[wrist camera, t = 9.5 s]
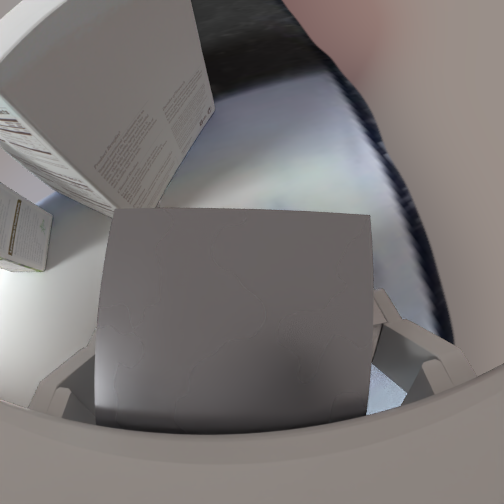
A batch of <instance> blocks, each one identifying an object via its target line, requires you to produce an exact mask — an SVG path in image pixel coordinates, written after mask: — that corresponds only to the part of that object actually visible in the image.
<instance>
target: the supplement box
mask: <svg viewBox="0 0 504 504" xmlns="http://www.w3.org/2000/svg"><path fill="white" fill-rule="evenodd" d="M214 111H215V105H214V101H213V96H212V92H211V88H210V83H209V79H208V75H207V71H206V66H205V62H204V58H203V54H202V50H201V45H200V41H199V36H198V32H197V27H196V23H195V18H194V14H193V9H192V5H191V0H23V1H21V2H20V3H19V4H18V5H17V6H16V7H14V8H13V9H12V10H11V11H10V12H8V13H7V14H6V15H5V16H4V17H3V18H2V19H1V20H0V148H2V149H3V150H4V151H5V152H6V153H7V154H9V155H10V156H11V157H12V158H13V159H15V160H16V161H17V162H18V163H20V164H21V165H22V166H23V167H24V168H26V169H27V170H28V171H29V172H31V173H32V174H33V175H34V176H36V177H37V178H38V179H40V180H41V181H43V183H45V184H46V185H47V186H49V187H50V188H51V189H53V190H55V191H57V192H59V193H61V194H63V195H65V196H67V197H69V198H71V199H73V200H75V201H77V202H79V203H81V204H83V205H85V206H87V207H89V208H92V209H94V210H96V211H98V212H100V213H102V214H104V215H106V216H109V217H111V218H113V214H114V209H124V208H155V207H156V206H157V204H158V202H159V200H160V198H161V196H162V195H163V193H164V191H165V189H166V187H167V186H168V184H169V182H170V181H171V179H172V177H173V176H174V174H175V172H176V170H177V169H178V167H179V165H180V164H181V162H182V160H183V159H184V157H185V156H186V154H187V152H188V151H189V149H190V148H191V146H192V144H193V143H194V141H195V140H196V138H197V137H198V135H199V133H200V132H201V130H202V129H203V127H204V126H205V124H206V123H207V121H208V120H209V118H210V117H211V115H212V114H213V112H214Z"/></svg>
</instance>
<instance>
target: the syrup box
mask: <svg viewBox="0 0 504 504" xmlns="http://www.w3.org/2000/svg"><path fill="white" fill-rule="evenodd" d="M52 219H53V216H52V215H51V214H50V213H48V212H46V211H45V210H43V209H42V208H40V207H38V206H37V205H35V204H34V203H32V202H31V201H29V200H27V199H26V198H24V197H22V196H21V195H19V194H18V193H17V192H15V191H13V190H12V189H10V188H9V187H7V186H6V185H4V184H3V183H1V182H0V268H1V269H5V270H8V271H11V272H44V270H45V266H46V259H47V252H48V245H49V238H50V231H51V225H52Z"/></svg>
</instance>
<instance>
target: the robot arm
mask: <svg viewBox="0 0 504 504" xmlns="http://www.w3.org/2000/svg"><path fill="white" fill-rule="evenodd" d="M373 293H374V303H373V342H372V360H371V363H372V364H373V365H374V366H376V367H377V368H378V369H379V370H380V371H382V372H383V373H384V374H385V375H386V376H387V377H389V378H390V379H391V380H392V381H393V382H395V383H396V384H397V385H398V386H399V387H401V388H402V389H403V390H404V391H405V392H407V393H408V394H407V395H406V397H405V399H404V401H403V403H402V404H401V406H399V407H396V408H392V409H389V410H385V411H382V412H378V413H374V414H370V415H366V416H362V417H358V418H353V419H349V420H344V421H339V422H334V423H329V424H323V425H318V426H311V427H305V428H298V429H290V430H282V431H272V432H261V433H247V434H223V435H189V434H166V433H153V432H142V431H133V430H124V429H117V428H110V427H104V426H98V425H96V418H95V348H96V331H97V327H96V329H95V331H94V333H93V335H92V337H91V339H90V341H89V343H88V345H87V348H82V349H81V350H79V351H78V352H77V353H76V354H74V355H73V356H72V357H71V358H69V359H68V360H67V361H65V362H64V363H63V364H62V365H60V366H59V367H58V368H57V369H55V370H54V371H53V372H52V373H50V374H49V375H48V376H47V377H45V378H44V379H43V380H42V381H41V382H40V383H39V385H38V387H37V389H36V391H35V394H34V396H33V398H32V400H31V403H30V405H29V407H28V408H25V407H21V406H18V405H16V404H13V403H10V402H7V401H4V400H2V399H0V504H504V364H502V365H500V366H498V367H496V368H494V369H492V370H490V371H488V372H486V373H484V374H482V375H480V376H478V377H477V375H476V373H475V372H474V370H473V368H472V367H471V365H470V363H469V362H468V360H467V358H466V357H465V355H464V354H463V352H462V350H461V349H460V348H458V347H456V346H455V345H453V344H451V343H449V342H447V341H446V340H444V339H442V338H440V337H438V336H437V335H435V334H433V333H431V332H429V331H427V330H426V329H424V328H422V327H420V326H418V325H417V324H415V323H413V322H411V321H409V320H407V319H403V320H402V318H401V316H400V315H399V313H398V311H397V310H396V308H395V306H394V305H393V303H392V302H391V300H390V298H389V297H388V295H387V294H386V292H385V290H384V289H382V288H381V289H375V290H373Z"/></svg>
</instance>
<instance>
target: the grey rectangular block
mask: <svg viewBox="0 0 504 504" xmlns="http://www.w3.org/2000/svg"><path fill="white" fill-rule="evenodd" d="M373 303H374V293H373V254H372V235H371V222H370V215H359V214H344V213H328V212H310V211H289V210H263V209H225V208H124V209H114V214H113V219H112V223H111V228H110V233H109V238H108V244H107V250H106V255H105V262H104V268H103V275H102V282H101V290H100V298H99V308H98V319H97V331H96V348H95V418H96V425H98V426H104V427H110V428H117V429H124V430H133V431H142V432H153V433H166V434H189V435H223V434H247V433H261V432H272V431H282V430H290V429H298V428H305V427H311V426H318V425H323V424H329V423H334V422H339V421H344V420H349V419H353V418H358V417H362V416H366V412H367V403H368V395H369V385H370V373H371V360H372V342H373Z"/></svg>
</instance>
